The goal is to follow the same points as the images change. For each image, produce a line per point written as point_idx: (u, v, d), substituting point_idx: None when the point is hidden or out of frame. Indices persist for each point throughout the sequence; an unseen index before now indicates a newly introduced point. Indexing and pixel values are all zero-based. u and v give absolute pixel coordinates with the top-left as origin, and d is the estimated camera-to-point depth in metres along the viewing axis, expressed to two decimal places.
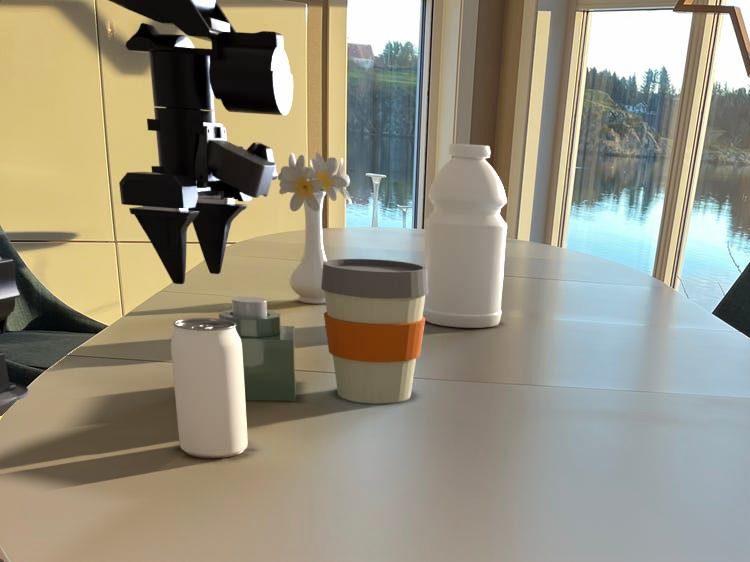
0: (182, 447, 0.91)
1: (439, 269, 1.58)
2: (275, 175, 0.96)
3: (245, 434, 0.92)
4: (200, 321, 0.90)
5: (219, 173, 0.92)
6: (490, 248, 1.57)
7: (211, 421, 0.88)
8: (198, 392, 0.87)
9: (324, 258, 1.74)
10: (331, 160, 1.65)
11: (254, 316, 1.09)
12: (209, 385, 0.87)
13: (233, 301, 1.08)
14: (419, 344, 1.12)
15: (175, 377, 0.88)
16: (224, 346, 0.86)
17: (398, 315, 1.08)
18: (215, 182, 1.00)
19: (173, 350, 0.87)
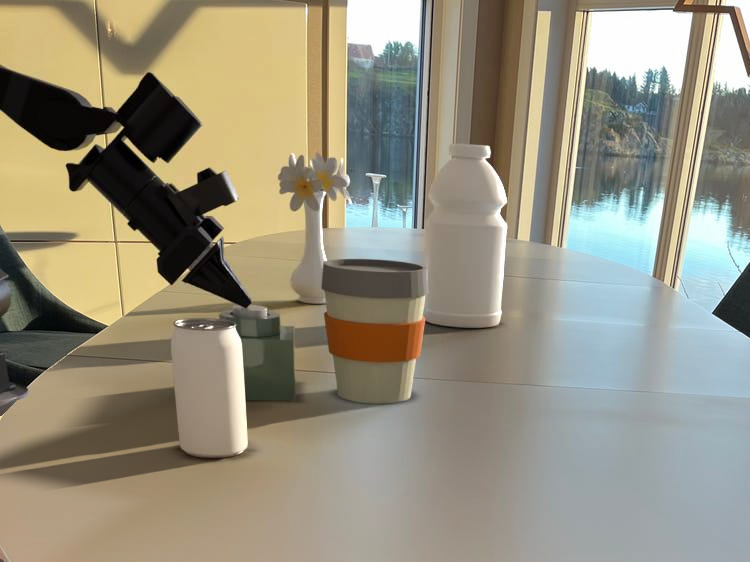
0: (182, 447, 0.91)
1: (439, 269, 1.58)
2: (229, 180, 1.06)
3: (245, 434, 0.92)
4: (200, 321, 0.90)
5: (202, 208, 1.02)
6: (490, 248, 1.57)
7: (211, 421, 0.88)
8: (198, 392, 0.87)
9: (324, 258, 1.74)
10: (331, 160, 1.65)
11: None
12: (209, 385, 0.87)
13: (234, 309, 1.09)
14: (419, 344, 1.12)
15: (175, 377, 0.88)
16: (224, 346, 0.86)
17: (398, 315, 1.08)
18: None
19: (173, 350, 0.87)
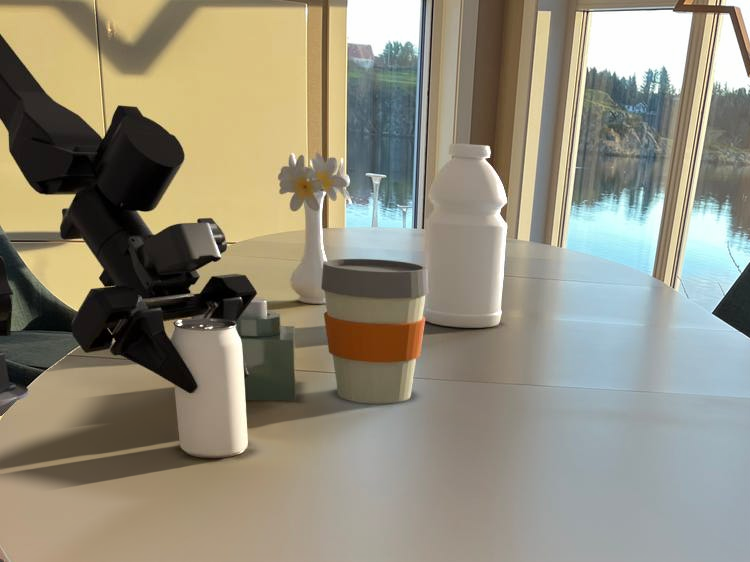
0: (182, 447, 0.91)
1: (439, 269, 1.58)
2: (219, 234, 0.86)
3: (246, 434, 0.92)
4: (200, 321, 0.90)
5: (157, 266, 0.84)
6: (490, 248, 1.57)
7: (211, 421, 0.88)
8: (198, 392, 0.87)
9: (324, 258, 1.74)
10: (331, 160, 1.65)
11: (254, 316, 1.09)
12: (209, 385, 0.87)
13: None
14: (419, 344, 1.12)
15: None
16: (224, 346, 0.86)
17: (398, 315, 1.08)
18: (207, 296, 0.93)
19: None
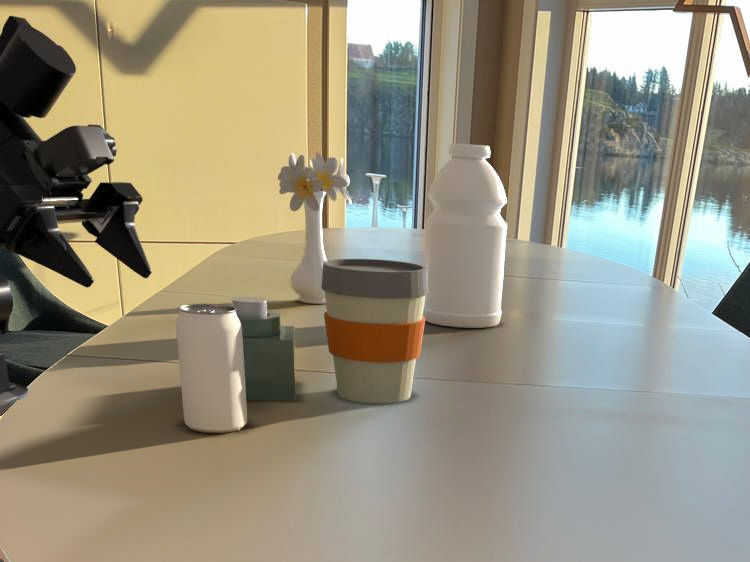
0: (189, 424, 0.98)
1: (439, 269, 1.58)
2: (110, 138, 0.94)
3: (246, 410, 1.00)
4: (198, 306, 0.97)
5: (55, 167, 0.92)
6: (490, 248, 1.57)
7: (219, 398, 0.96)
8: (208, 372, 0.95)
9: (324, 258, 1.74)
10: (331, 160, 1.65)
11: (254, 316, 1.09)
12: (218, 365, 0.94)
13: (233, 301, 1.08)
14: (419, 344, 1.12)
15: (183, 359, 0.95)
16: (231, 329, 0.94)
17: (398, 315, 1.08)
18: (97, 201, 1.00)
19: (181, 334, 0.94)
